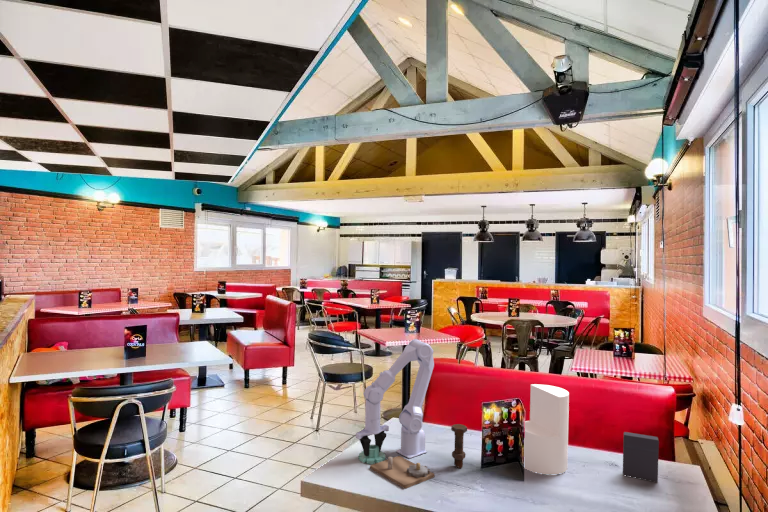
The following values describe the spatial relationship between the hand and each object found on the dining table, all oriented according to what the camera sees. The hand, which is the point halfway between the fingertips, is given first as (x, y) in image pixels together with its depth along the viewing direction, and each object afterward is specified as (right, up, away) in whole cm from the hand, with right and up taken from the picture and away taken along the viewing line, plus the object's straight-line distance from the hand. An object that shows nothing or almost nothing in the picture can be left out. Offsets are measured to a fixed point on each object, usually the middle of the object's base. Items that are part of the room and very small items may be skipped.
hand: (372, 453), depth 185 cm
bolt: (+32, -3, -6) cm, 33 cm away
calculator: (+96, -4, -12) cm, 97 cm away
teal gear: (0, -2, 0) cm, 2 cm away
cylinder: (+64, -3, -3) cm, 64 cm away
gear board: (+11, -2, -12) cm, 16 cm away
